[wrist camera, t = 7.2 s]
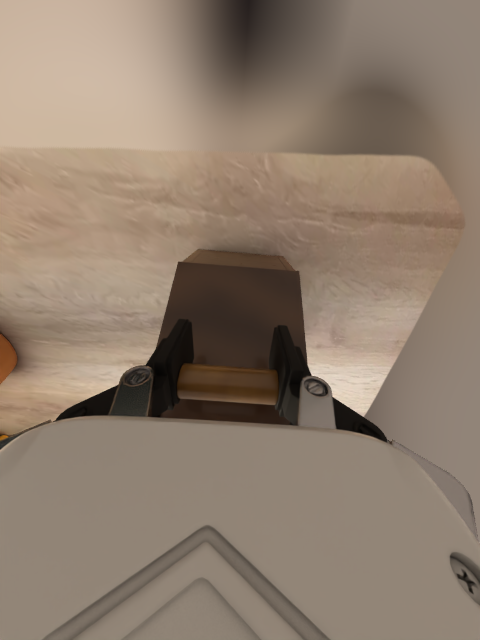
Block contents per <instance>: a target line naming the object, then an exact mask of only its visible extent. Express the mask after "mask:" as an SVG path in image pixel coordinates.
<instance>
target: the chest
mask: <svg viewBox="0 0 480 640" xmlns="http://www.w3.org/2000/svg"><path fill="white" fill-rule="evenodd" d="M183 262H190V263H203V264H215V265H228V266H240V267H253V268H265V269H278V270H290V271H295V270H294V269H293V267H292V266H291V265H290V264H289V263H288V261H287V260H286V259H285V258H284V257H283V256H274V255H261V254H249V253H237V252H224V251H212V250H200V249H198V250H196V251H195V252H194V253H193V254H191V255H190V256H189V257H188V258H187V259H185V260H184V261H183Z"/></svg>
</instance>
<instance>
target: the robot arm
mask: <svg viewBox="0 0 480 640" xmlns="http://www.w3.org/2000/svg"><path fill="white" fill-rule="evenodd" d="M193 360H194V347H193V333H192V322H189V320H188V319H178V321H177V322H176V324H175V326H174V327H173V329H172V331H171V332H170V334H169V336H168V337H167V338H163V339H162V340H161V342H160V343H159V345H158V347H157V348H156V350H155V351H154V353H153V354H152V356H151V357H150V359H149V361H148V362H147V364H146V365H143V366H136V367H133V368H131V369H129V370H127V371H126V372H125V373H124V374H123V375H122V377H121V379H120V382H119V385H117V386H115V387H113V388H110V389H108V390H106V391H104V392H102V393H100V394H97V395H95V396H93V397H91V398H89V399H87V400H84V401H82V402H80V403H78V404H76V405H74V406H72V407H70V408H68V409H66V410H65V411H64V412H63V413H61V414H60V415H59V417H58V418H57V419H56V421H53V422H52V421H51V420H48V421H46V422H43V423H41V424H39V425H36V426H34V427H31V428H29V429H26V430H24V431H22V432H19V433H17V434H14V435H12V436H10V437H7V438H5V439H2V440H0V640H480V543H479V541H478V535H477V529H476V523H475V518H474V512H473V506H472V501H471V498H470V495H469V493H468V492H467V490H466V489H465V487H464V486H463V485H462V484H461V483H460V482H459V481H458V480H457V479H456V478H455V477H453V476H452V475H450V474H449V473H448V472H446V471H445V470H443V469H441V468H440V467H438V466H436V465H435V464H433V463H431V462H430V461H428V460H426V459H425V458H423V457H421V456H419V455H418V454H416V453H414V452H413V451H411V450H409V449H408V448H406V447H404V446H403V445H401V444H399V443H397V442H396V441H394V440H392V441H391V442H390V441H389V440H387V439H386V437H385V435H384V433H383V432H382V431H381V430H380V429H379V428H378V427H377V426H376V425H374V424H373V423H371V422H370V421H368V420H367V419H365V418H364V417H362V416H361V415H359V414H358V413H356V412H355V411H353V410H352V409H350V408H349V407H347V406H346V405H344V404H342V403H341V402H339V401H338V400H336V399H335V398H333V397H332V391H331V387H330V386H329V385H328V383H326V382H325V381H324V380H322V379H321V378H318V377H316V376H311V373H310V371H309V368H308V366H307V363H306V361H305V358H304V356H303V353H302V351H301V348H300V347H299V346H294V343H293V340H292V337H291V335H290V332H289V329H288V326H286V325H278V326H277V327H275V328H274V332H273V338H272V343H271V349H270V355H269V361H268V364H269V369H275V370H276V371H277V374H278V380H279V394H278V400H277V403H276V405H275V409H276V410H279V416H280V417H285V418H286V419H287V420H289V422H288V425H277V424H261V423H245V422H228V421H211V420H194V419H175V418H162V417H163V412H165V411H167V410H173V409H174V406H175V404H178V403H179V401H180V398H178V396H177V381H178V376H179V372H180V369H181V367H182V365H183V364H184V363H191V364H192V363H193Z"/></svg>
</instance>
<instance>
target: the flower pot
mask: <svg viewBox="0 0 480 640" xmlns="http://www.w3.org/2000/svg"><path fill="white" fill-rule="evenodd" d="M16 363H17V355H16V352H15V350H14V348H13V347H12V345H11V344H10V343H9V341H8V340H7V339H6V338H5V337H4V336H3V335H2V334H1V333H0V384H1V383H2V382H3V381H4V380H5V379H6V377H7V376H8V375H9V374H10V373H11V371H12V370H13V369H14V368H15V366H16Z"/></svg>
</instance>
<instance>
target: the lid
mask: <svg viewBox="0 0 480 640" xmlns="http://www.w3.org/2000/svg"><path fill="white" fill-rule="evenodd" d="M178 319H188V320H189V322H192V333H193V347H194V360H193V363H192V364H191V363H184V364H183V365H182V367H181V369H180V372H179V376H178V381H177V396H178V398H180V401H179V403H178V404H175V406H174V409H173V410H167V411H165V412H163V417H162V418H175V419H194V420H211V421H228V422H245V423H261V424H277V425H288V422H289V420H287V419H286V418H285V417H280V416H279V410H276V409H275V405H276V403H277V400H278V394H279V380H278V374H277V371H276V370H275V369H269V364H268V361H269V355H270V349H271V343H272V338H273V332H274V328H275V327H277V326H278V325H286V326H288V329H289V332H290V335H291V337H292V340H293V343H294V346H299V347H300V348H301V351H302V353H303V356H304V358H305V361H306V363H307V353H306V342H305V331H304V320H303V308H302V297H301V286H300V275H299V271H290V270H278V269H265V268H253V267H240V266H228V265H215V264H203V263H190V262H178V265H177V269H176V273H175V277H174V281H173V284H172V288H171V292H170V296H169V300H168V304H167V308H166V312H165V316H164V320H163V323H162V327H161V331H160V335H159V339H158V343H157V347H158V345H159V343H160V342H161V340H162V339H163V338H167V337H168V336H169V334H170V332H171V331H172V329H173V327H174V326H175V324H176V322H177V321H178ZM157 347H156V348H157ZM307 366H308V365H307Z"/></svg>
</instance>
